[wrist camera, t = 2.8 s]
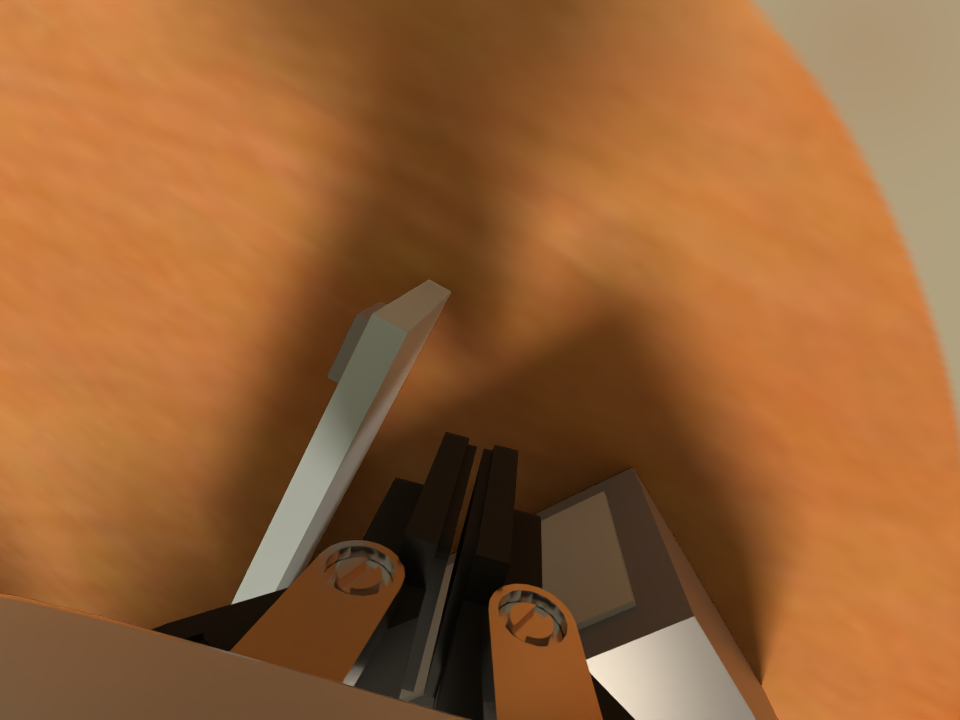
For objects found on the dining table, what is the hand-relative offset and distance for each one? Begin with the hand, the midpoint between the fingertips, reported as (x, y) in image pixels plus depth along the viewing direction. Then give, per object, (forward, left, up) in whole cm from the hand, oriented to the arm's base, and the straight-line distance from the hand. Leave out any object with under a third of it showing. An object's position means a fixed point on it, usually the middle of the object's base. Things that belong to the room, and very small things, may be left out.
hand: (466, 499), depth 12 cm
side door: (-5, +1, -4) cm, 6 cm away
